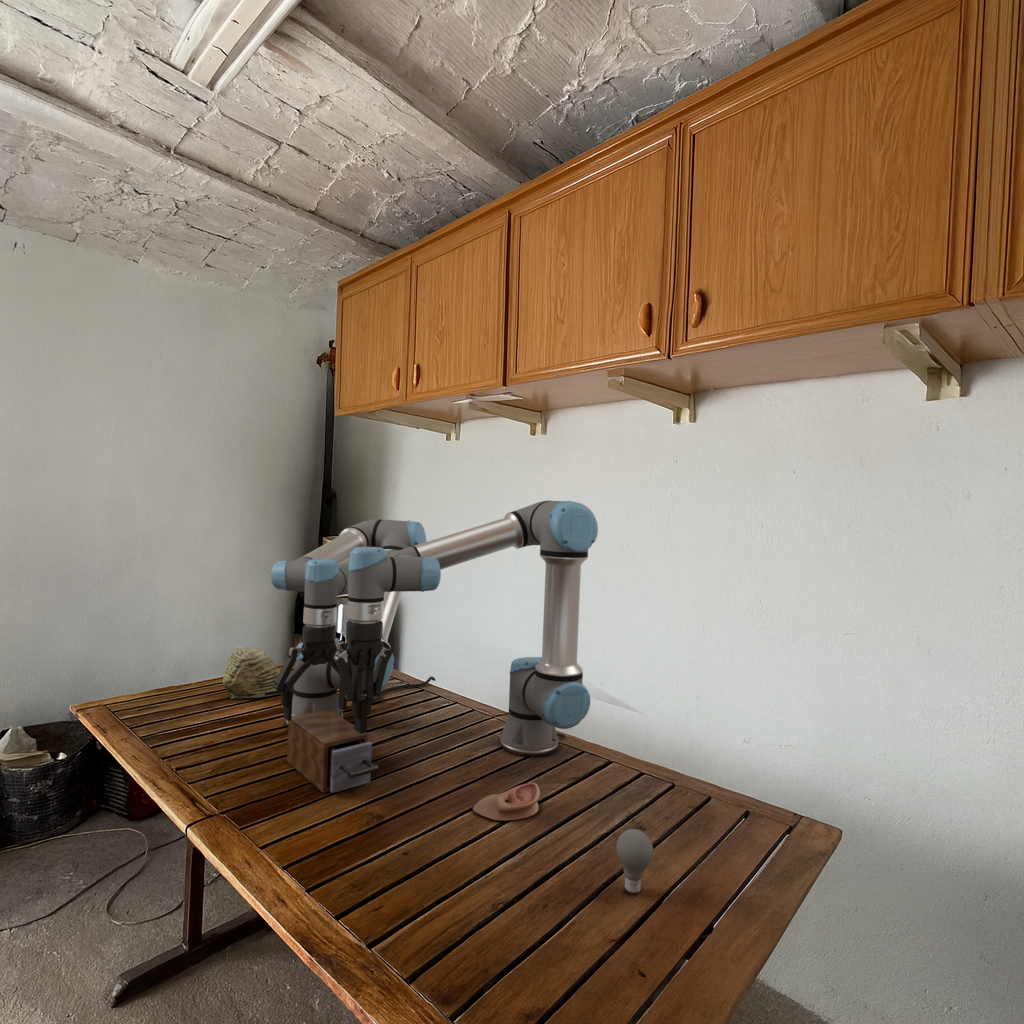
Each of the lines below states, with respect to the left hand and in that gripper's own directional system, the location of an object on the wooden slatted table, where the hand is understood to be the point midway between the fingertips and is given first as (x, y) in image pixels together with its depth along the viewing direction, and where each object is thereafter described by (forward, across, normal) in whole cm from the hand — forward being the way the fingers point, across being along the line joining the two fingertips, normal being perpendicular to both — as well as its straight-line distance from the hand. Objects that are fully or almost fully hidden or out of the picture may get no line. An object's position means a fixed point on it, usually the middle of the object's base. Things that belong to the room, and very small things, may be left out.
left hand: (315, 714), depth 150 cm
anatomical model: (+12, +22, -44) cm, 51 cm away
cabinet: (+12, 0, -6) cm, 13 cm away
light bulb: (+12, +21, -78) cm, 82 cm away
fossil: (+11, +6, +58) cm, 59 cm away
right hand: (-2, 0, -22) cm, 22 cm away
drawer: (+11, 0, -12) cm, 16 cm away
